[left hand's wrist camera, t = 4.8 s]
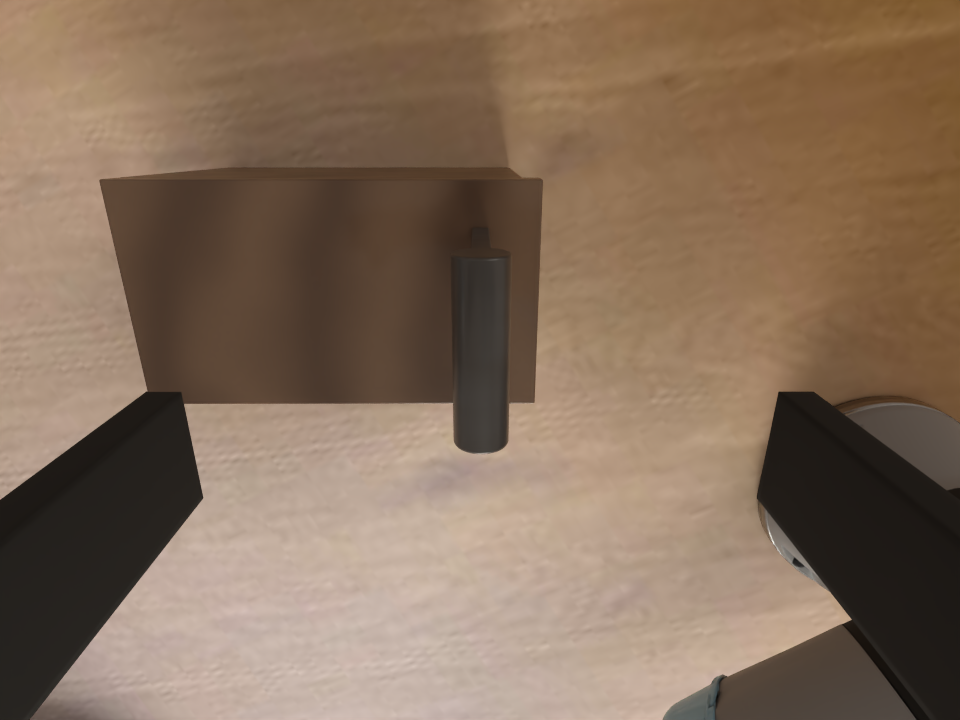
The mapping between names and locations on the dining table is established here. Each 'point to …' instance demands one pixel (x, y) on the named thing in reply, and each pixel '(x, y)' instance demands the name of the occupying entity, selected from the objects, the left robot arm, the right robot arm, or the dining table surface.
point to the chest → (341, 173)
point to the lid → (336, 291)
